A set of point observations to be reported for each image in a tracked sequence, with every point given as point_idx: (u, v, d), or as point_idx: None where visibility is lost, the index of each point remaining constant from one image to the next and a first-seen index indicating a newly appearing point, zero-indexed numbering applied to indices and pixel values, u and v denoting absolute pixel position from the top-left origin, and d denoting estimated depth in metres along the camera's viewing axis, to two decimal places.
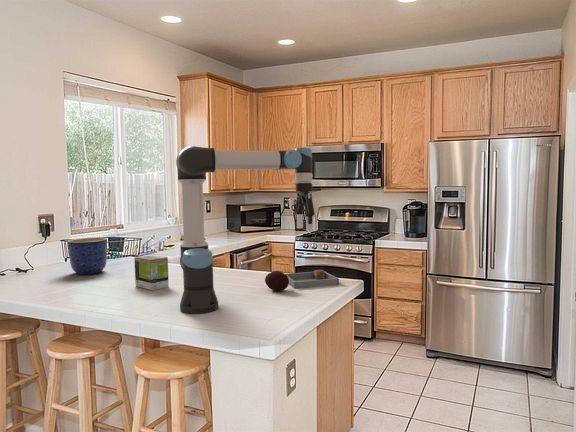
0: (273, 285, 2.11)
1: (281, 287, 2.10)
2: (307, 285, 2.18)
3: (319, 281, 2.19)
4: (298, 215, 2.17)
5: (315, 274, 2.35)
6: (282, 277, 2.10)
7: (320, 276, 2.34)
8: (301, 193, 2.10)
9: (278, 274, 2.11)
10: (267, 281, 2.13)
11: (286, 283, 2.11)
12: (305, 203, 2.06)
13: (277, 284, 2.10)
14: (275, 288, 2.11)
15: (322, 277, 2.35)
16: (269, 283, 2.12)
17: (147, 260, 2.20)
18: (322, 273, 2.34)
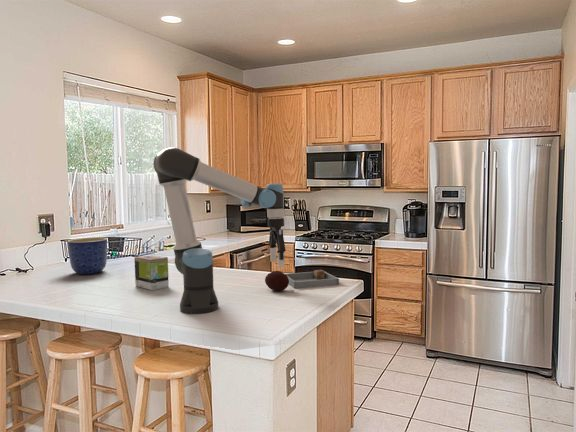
0: (273, 285, 2.11)
1: (281, 287, 2.10)
2: (307, 285, 2.18)
3: (319, 281, 2.19)
4: (271, 249, 2.19)
5: (315, 274, 2.35)
6: (282, 277, 2.10)
7: (320, 276, 2.34)
8: (273, 228, 2.13)
9: (278, 274, 2.11)
10: (267, 281, 2.13)
11: (286, 283, 2.11)
12: (277, 239, 2.08)
13: (277, 284, 2.10)
14: (275, 288, 2.11)
15: (322, 277, 2.35)
16: (269, 283, 2.12)
17: (147, 260, 2.20)
18: (322, 273, 2.34)
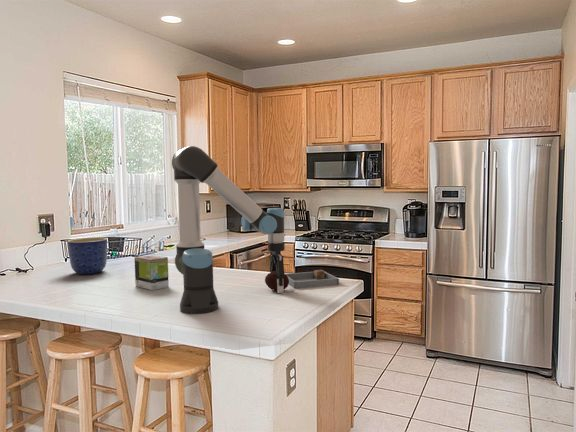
0: (273, 285, 2.11)
1: None
2: (307, 285, 2.18)
3: (319, 281, 2.19)
4: None
5: (315, 274, 2.35)
6: None
7: (320, 276, 2.34)
8: (273, 252, 2.13)
9: None
10: (267, 281, 2.13)
11: (286, 283, 2.11)
12: (277, 264, 2.10)
13: None
14: (275, 288, 2.11)
15: (322, 277, 2.35)
16: (269, 283, 2.12)
17: (147, 260, 2.20)
18: (322, 273, 2.34)
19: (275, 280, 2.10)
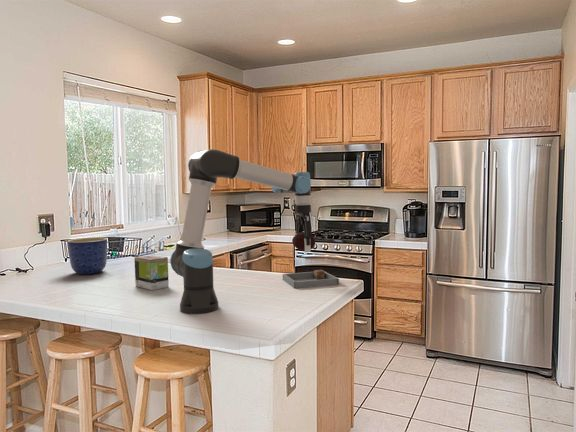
0: (300, 245, 2.22)
1: None
2: (307, 285, 2.18)
3: (319, 281, 2.19)
4: None
5: (315, 274, 2.35)
6: None
7: (320, 276, 2.34)
8: (300, 214, 2.25)
9: None
10: (295, 241, 2.24)
11: (313, 243, 2.22)
12: (304, 225, 2.21)
13: (304, 244, 2.21)
14: (302, 248, 2.23)
15: (322, 277, 2.35)
16: (296, 243, 2.23)
17: (147, 260, 2.20)
18: (322, 273, 2.34)
19: (302, 240, 2.21)
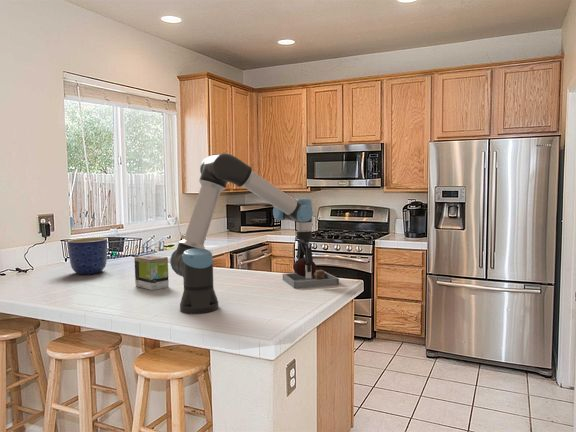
0: (301, 271, 2.24)
1: None
2: (307, 285, 2.18)
3: (319, 281, 2.19)
4: None
5: (315, 274, 2.35)
6: None
7: (320, 276, 2.34)
8: (301, 240, 2.26)
9: None
10: (296, 267, 2.26)
11: (314, 269, 2.24)
12: (305, 251, 2.23)
13: None
14: (303, 274, 2.24)
15: (322, 277, 2.35)
16: (297, 269, 2.25)
17: (147, 260, 2.20)
18: (322, 273, 2.34)
19: (303, 266, 2.23)
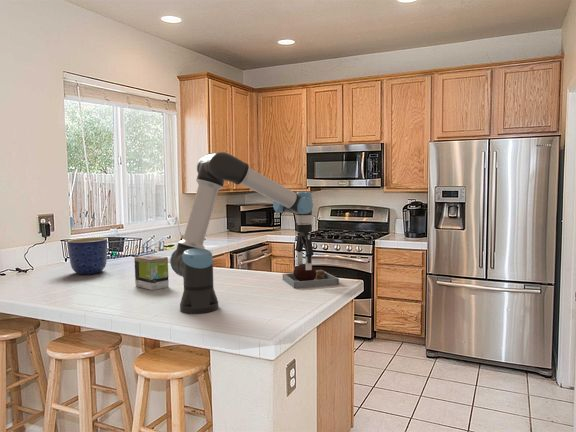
0: (302, 277, 2.24)
1: (309, 279, 2.24)
2: (307, 285, 2.18)
3: (319, 281, 2.19)
4: (298, 253, 2.33)
5: None
6: (310, 270, 2.23)
7: (320, 276, 2.34)
8: (301, 233, 2.26)
9: None
10: (296, 273, 2.26)
11: (314, 275, 2.24)
12: (305, 243, 2.22)
13: (305, 276, 2.23)
14: (303, 280, 2.24)
15: (322, 277, 2.35)
16: (297, 275, 2.25)
17: (147, 260, 2.20)
18: (322, 273, 2.34)
19: (304, 272, 2.23)
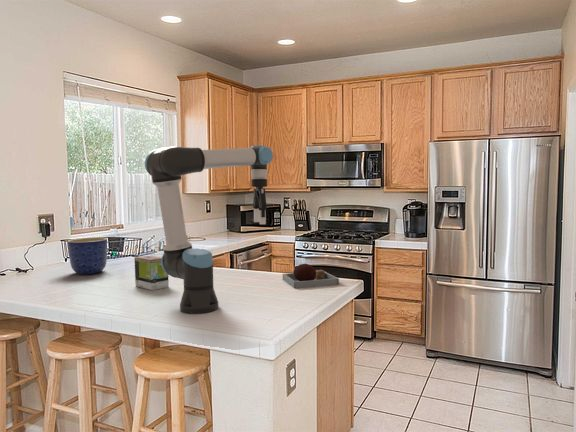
0: (302, 277, 2.24)
1: (309, 279, 2.24)
2: (307, 285, 2.18)
3: (319, 281, 2.19)
4: (255, 209, 2.29)
5: None
6: (310, 270, 2.23)
7: (320, 276, 2.34)
8: (256, 188, 2.23)
9: (306, 266, 2.24)
10: (296, 273, 2.26)
11: (314, 275, 2.24)
12: (259, 198, 2.18)
13: (305, 276, 2.23)
14: (303, 280, 2.24)
15: (322, 277, 2.35)
16: (297, 275, 2.25)
17: (147, 260, 2.20)
18: (322, 273, 2.34)
19: (304, 272, 2.23)
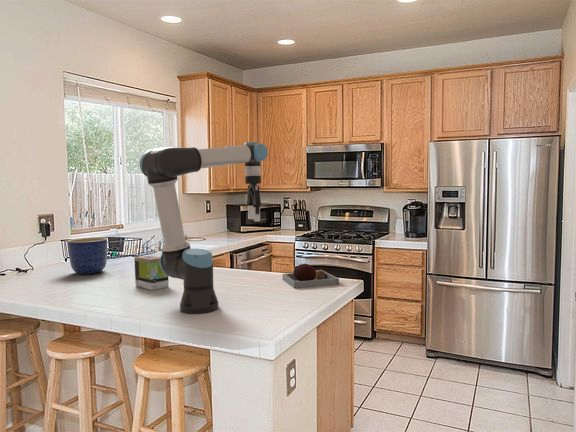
0: (302, 277, 2.24)
1: (309, 279, 2.24)
2: (307, 285, 2.18)
3: (319, 281, 2.19)
4: (249, 206, 2.29)
5: None
6: (310, 270, 2.23)
7: (320, 276, 2.34)
8: (250, 185, 2.22)
9: (306, 266, 2.24)
10: (296, 273, 2.26)
11: (314, 275, 2.24)
12: (253, 195, 2.18)
13: (305, 276, 2.23)
14: (303, 280, 2.24)
15: (322, 277, 2.35)
16: (297, 275, 2.25)
17: (147, 260, 2.20)
18: (322, 273, 2.34)
19: (304, 272, 2.23)
